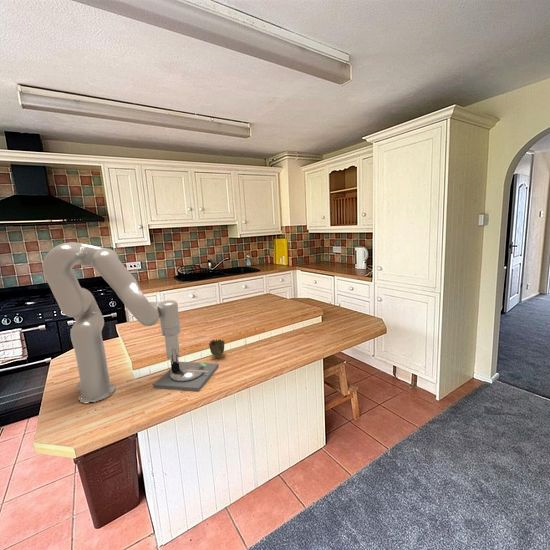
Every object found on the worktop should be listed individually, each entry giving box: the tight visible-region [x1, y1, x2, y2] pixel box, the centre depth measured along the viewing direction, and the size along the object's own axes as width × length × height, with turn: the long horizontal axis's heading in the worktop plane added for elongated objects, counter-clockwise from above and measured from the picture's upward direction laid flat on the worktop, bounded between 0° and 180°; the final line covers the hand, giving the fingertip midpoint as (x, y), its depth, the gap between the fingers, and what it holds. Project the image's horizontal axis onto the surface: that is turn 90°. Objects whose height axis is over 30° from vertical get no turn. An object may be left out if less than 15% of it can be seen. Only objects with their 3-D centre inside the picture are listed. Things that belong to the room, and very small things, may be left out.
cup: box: [208, 339, 225, 360], centre depth 143 cm, size 8×7×8 cm
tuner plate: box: [152, 361, 220, 392], centre depth 126 cm, size 20×20×2 cm
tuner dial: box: [170, 356, 209, 382], centre depth 125 cm, size 17×14×7 cm
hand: (175, 369), depth 127 cm, fingers closed on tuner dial, 2 cm apart
